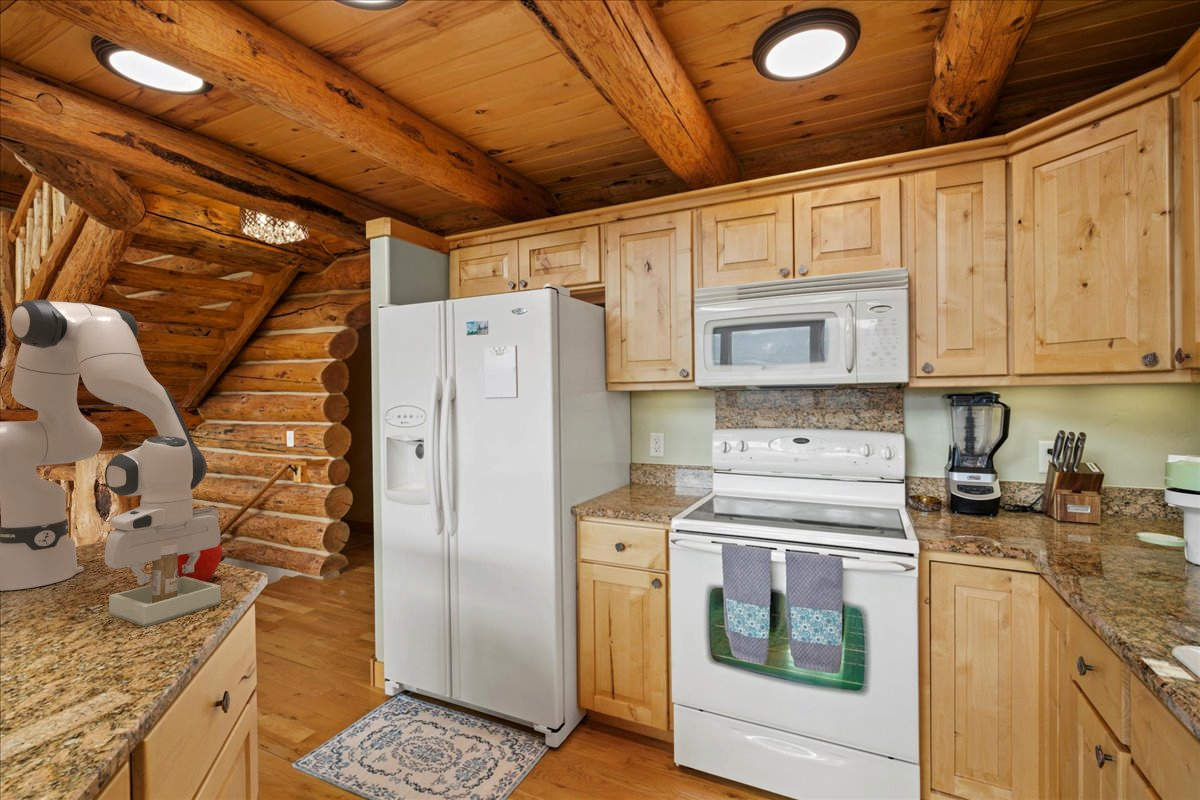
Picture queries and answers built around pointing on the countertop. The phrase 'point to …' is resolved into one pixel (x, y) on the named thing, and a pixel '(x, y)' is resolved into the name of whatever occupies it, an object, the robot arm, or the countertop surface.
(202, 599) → the bin
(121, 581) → the countertop surface
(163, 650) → the countertop surface
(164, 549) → the sprinkles bottle
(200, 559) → the apple
